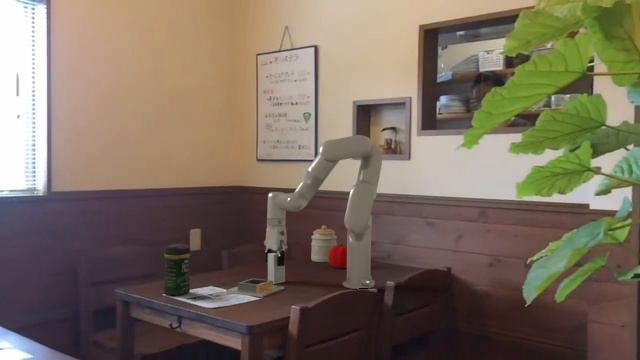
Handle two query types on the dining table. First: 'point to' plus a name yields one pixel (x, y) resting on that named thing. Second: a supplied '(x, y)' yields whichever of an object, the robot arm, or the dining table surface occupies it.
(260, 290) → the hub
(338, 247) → the tomato
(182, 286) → the coffee jar
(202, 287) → the dining table surface
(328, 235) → the jar
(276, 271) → the skincare box
